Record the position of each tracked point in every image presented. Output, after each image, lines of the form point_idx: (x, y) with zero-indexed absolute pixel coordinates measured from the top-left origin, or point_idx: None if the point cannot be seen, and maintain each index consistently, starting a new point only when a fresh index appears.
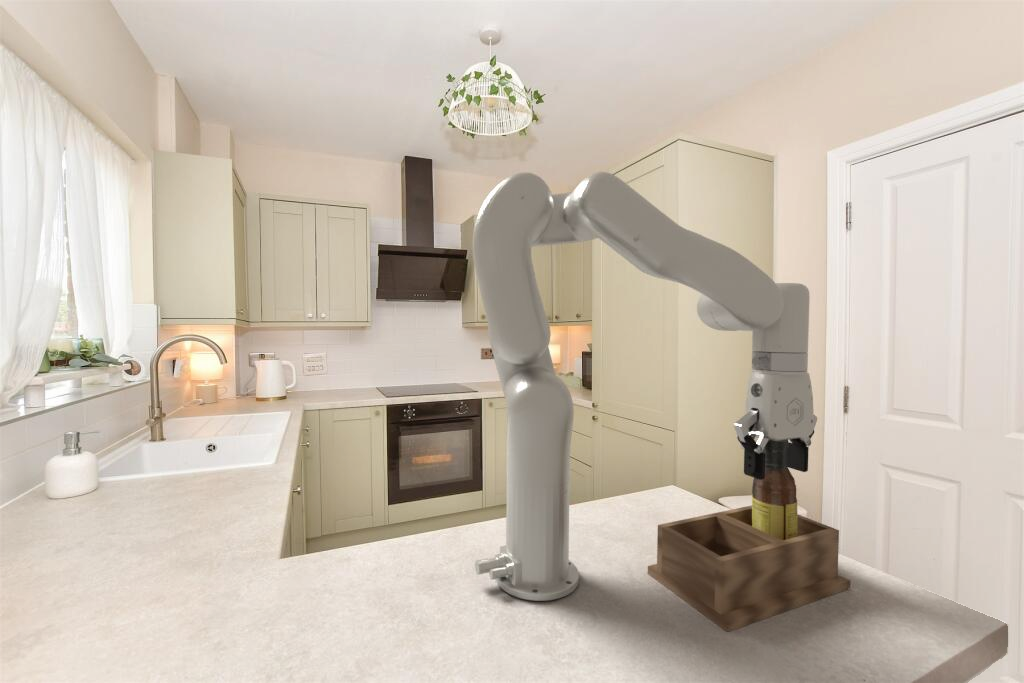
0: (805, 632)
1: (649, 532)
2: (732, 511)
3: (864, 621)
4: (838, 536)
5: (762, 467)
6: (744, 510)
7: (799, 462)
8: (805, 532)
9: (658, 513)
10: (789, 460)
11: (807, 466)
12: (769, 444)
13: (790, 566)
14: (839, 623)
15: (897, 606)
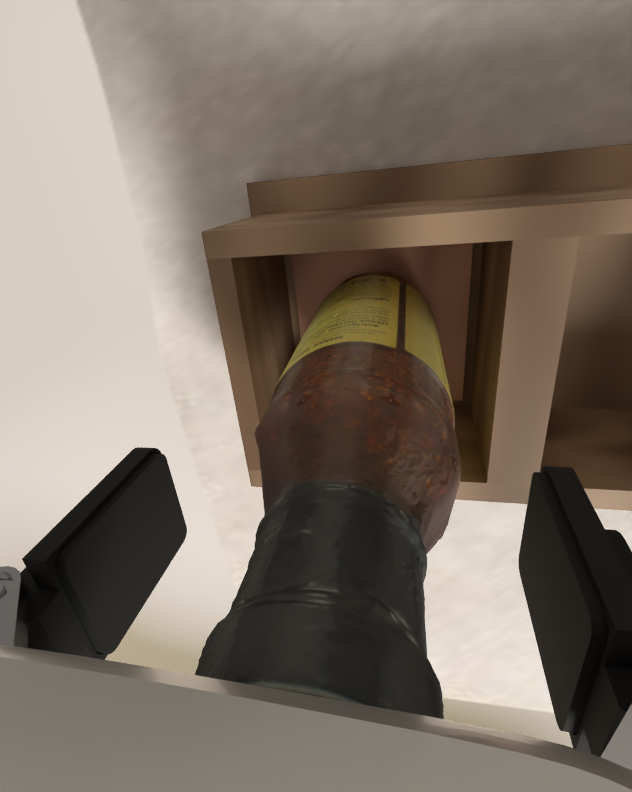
0: (608, 37)
1: (503, 569)
2: None
3: (375, 28)
4: (214, 228)
5: (600, 525)
6: None
7: (145, 505)
8: (260, 326)
9: None
10: (164, 550)
11: (124, 462)
12: (439, 713)
13: (491, 201)
14: (457, 44)
15: (209, 62)
